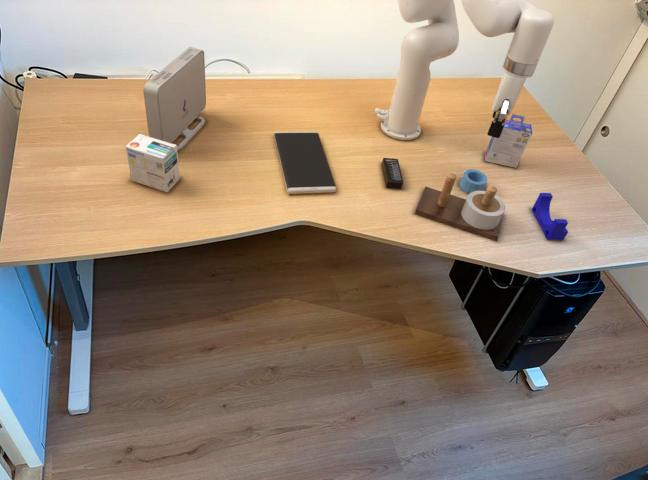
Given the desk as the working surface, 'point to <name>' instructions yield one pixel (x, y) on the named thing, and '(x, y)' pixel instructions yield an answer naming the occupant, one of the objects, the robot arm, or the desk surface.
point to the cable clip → (549, 218)
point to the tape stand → (464, 209)
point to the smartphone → (304, 163)
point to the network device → (176, 97)
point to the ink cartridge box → (509, 143)
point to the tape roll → (473, 181)
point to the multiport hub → (392, 173)
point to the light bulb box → (153, 162)
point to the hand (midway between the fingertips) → (495, 127)
